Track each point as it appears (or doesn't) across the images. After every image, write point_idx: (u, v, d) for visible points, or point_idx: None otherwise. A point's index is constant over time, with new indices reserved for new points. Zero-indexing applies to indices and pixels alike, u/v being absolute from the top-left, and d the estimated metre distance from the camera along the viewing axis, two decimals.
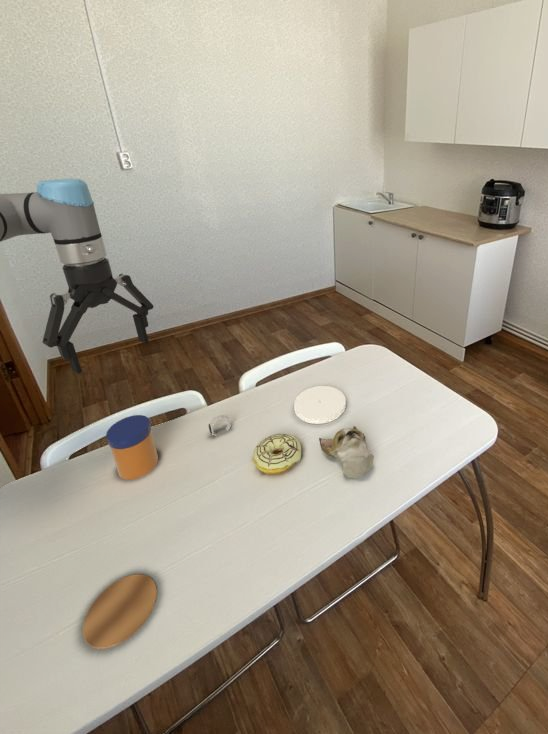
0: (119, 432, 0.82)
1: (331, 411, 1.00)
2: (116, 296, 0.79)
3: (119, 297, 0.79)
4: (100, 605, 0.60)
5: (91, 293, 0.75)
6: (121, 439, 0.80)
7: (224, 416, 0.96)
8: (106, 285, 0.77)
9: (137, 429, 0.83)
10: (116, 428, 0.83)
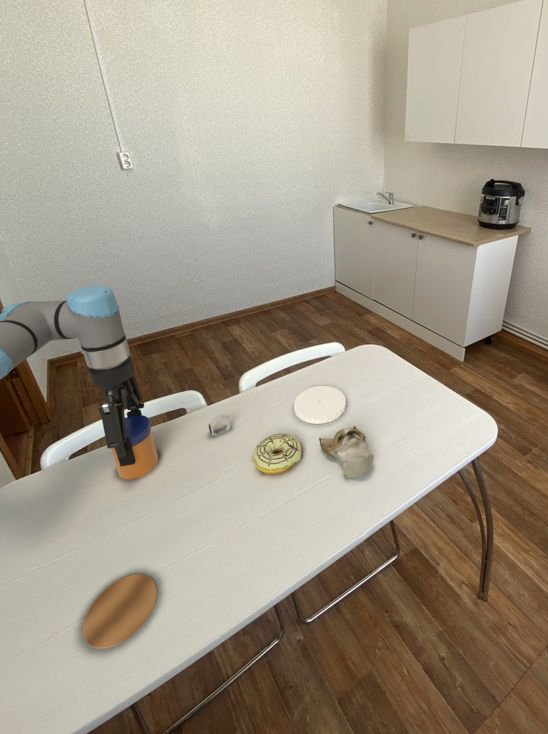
0: None
1: (331, 411, 1.00)
2: None
3: None
4: (100, 605, 0.60)
5: None
6: None
7: (224, 416, 0.96)
8: None
9: (137, 429, 0.83)
10: None
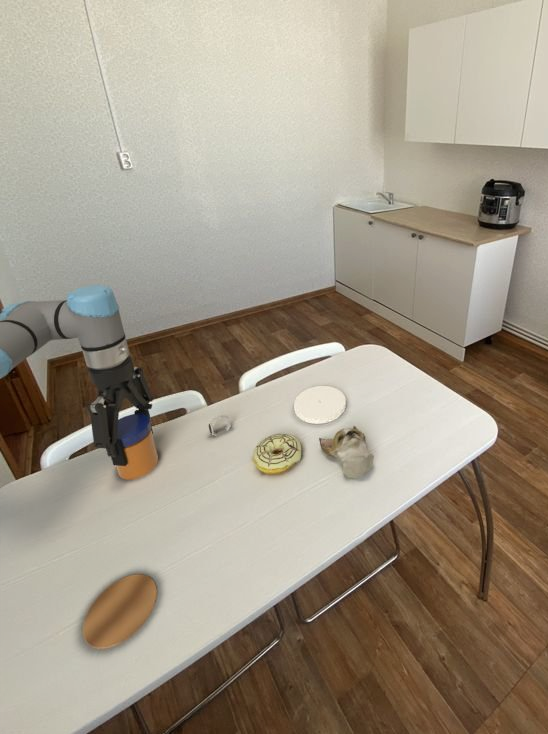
0: (137, 423, 0.84)
1: (331, 411, 1.00)
2: (134, 389, 0.83)
3: (136, 390, 0.83)
4: (100, 605, 0.60)
5: (120, 390, 0.78)
6: (140, 415, 0.86)
7: (224, 416, 0.96)
8: (127, 378, 0.81)
9: (122, 422, 0.84)
10: (137, 428, 0.83)
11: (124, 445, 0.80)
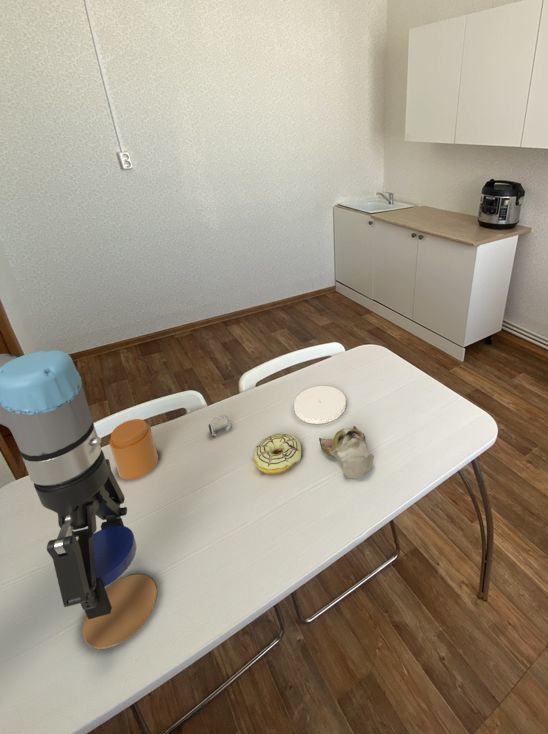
0: (115, 542, 0.57)
1: (331, 411, 1.00)
2: (106, 495, 0.56)
3: (108, 495, 0.56)
4: None
5: (93, 503, 0.51)
6: (112, 529, 0.59)
7: (224, 416, 0.96)
8: None
9: None
10: (118, 550, 0.56)
11: (106, 583, 0.53)
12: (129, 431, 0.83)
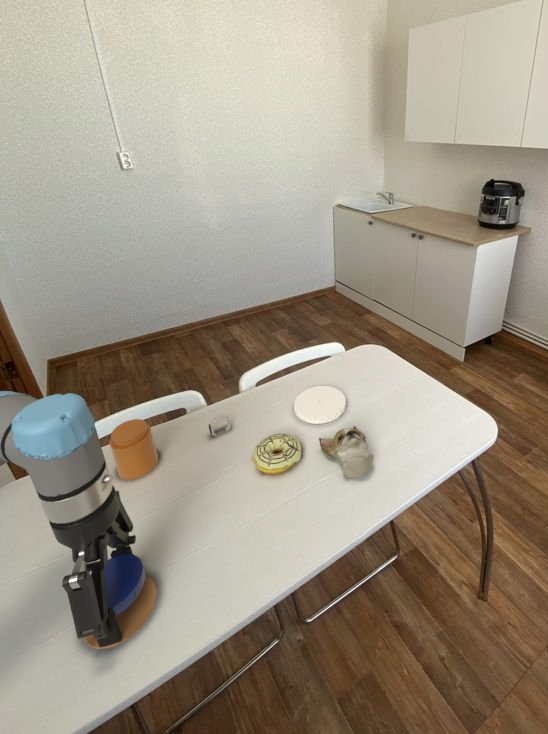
0: (125, 571, 0.59)
1: (331, 411, 1.00)
2: (117, 526, 0.58)
3: (118, 527, 0.58)
4: None
5: (105, 537, 0.53)
6: (122, 558, 0.61)
7: (224, 416, 0.96)
8: None
9: None
10: (128, 579, 0.58)
11: (117, 613, 0.55)
12: (129, 431, 0.83)
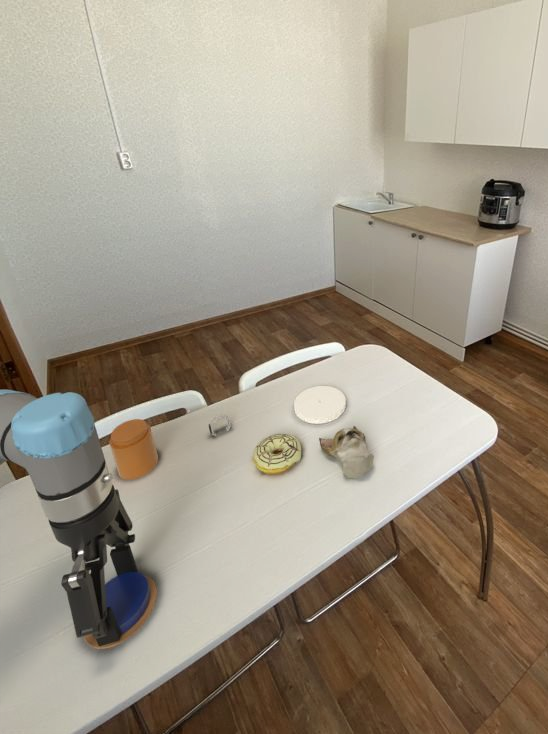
0: (131, 589, 0.61)
1: (331, 411, 1.00)
2: (116, 525, 0.58)
3: (117, 526, 0.58)
4: None
5: (104, 536, 0.53)
6: (128, 575, 0.63)
7: (224, 416, 0.96)
8: None
9: None
10: (134, 597, 0.60)
11: (123, 631, 0.57)
12: (129, 431, 0.83)
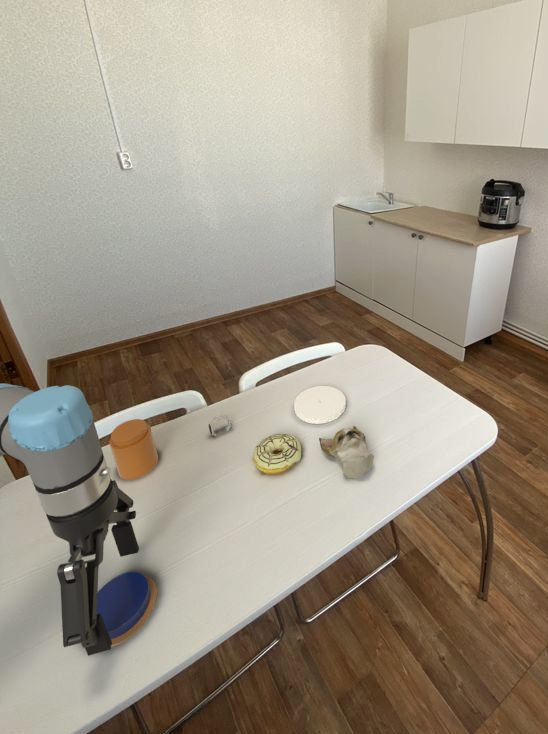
0: (131, 590, 0.61)
1: (331, 411, 1.00)
2: (115, 515, 0.58)
3: (117, 514, 0.58)
4: None
5: (103, 530, 0.53)
6: (128, 576, 0.63)
7: (224, 416, 0.96)
8: None
9: (106, 596, 0.60)
10: (134, 598, 0.60)
11: (124, 631, 0.57)
12: (129, 431, 0.83)
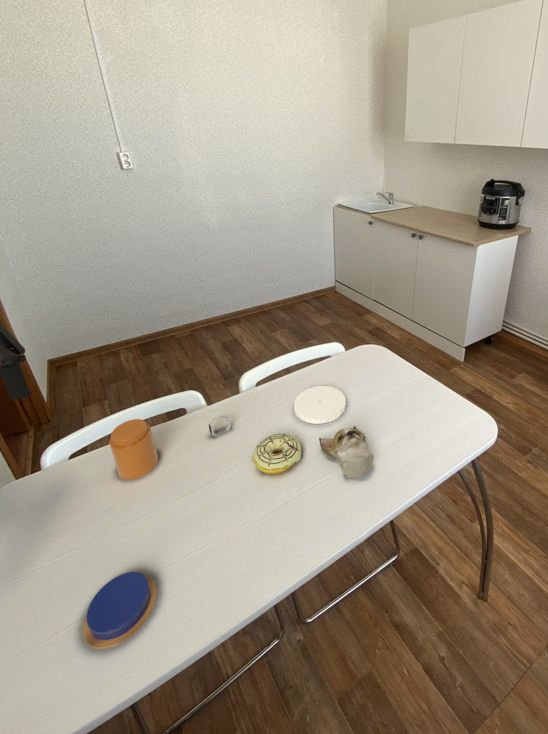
0: (131, 590, 0.61)
1: (331, 411, 1.00)
2: None
3: None
4: None
5: None
6: (128, 576, 0.63)
7: (224, 416, 0.96)
8: None
9: (106, 596, 0.60)
10: (134, 598, 0.60)
11: (124, 631, 0.57)
12: (129, 431, 0.83)
